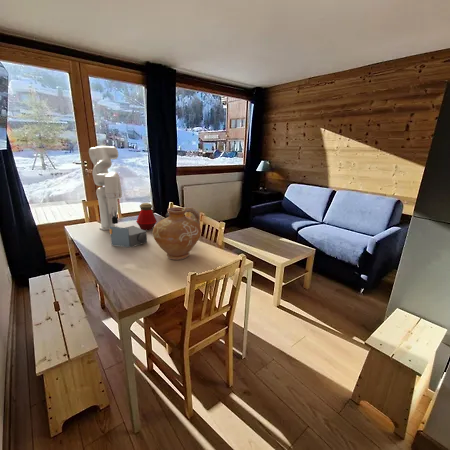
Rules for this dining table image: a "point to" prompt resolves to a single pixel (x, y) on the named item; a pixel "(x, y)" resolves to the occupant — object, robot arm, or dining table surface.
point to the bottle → (146, 217)
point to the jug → (178, 232)
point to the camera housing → (136, 236)
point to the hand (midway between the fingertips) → (115, 223)
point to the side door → (120, 236)
